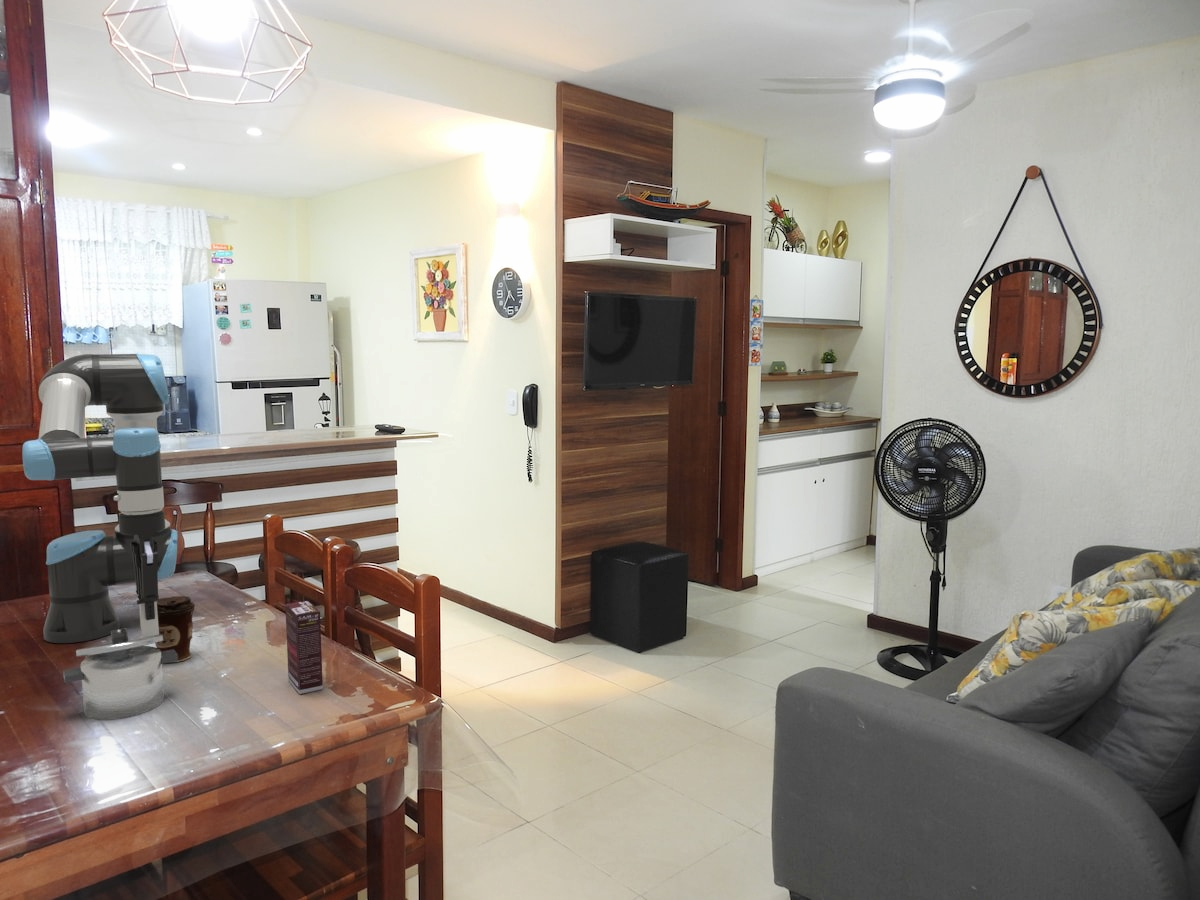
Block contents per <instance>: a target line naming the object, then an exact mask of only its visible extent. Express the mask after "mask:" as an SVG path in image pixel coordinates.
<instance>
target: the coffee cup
mask: <svg viewBox="0 0 1200 900" xmlns="http://www.w3.org/2000/svg"><path fill="white" fill-rule="evenodd" d="M191 600H192V599H191V597H189V596H185V595H181V596H179V595H178V596H171V597H161V598H158V600H157V613H158V627H159V635H163V641H161V642H157V643H154V644H155V648H158V649H159V650H160V651H166V650H172V649H174V650H175V651H176V653H177V654H178V661H173V662H172V663H179V662H184V661H187V660H189V659H190V658H192V653H191V652H190V646H191V641H192V638H193V628H194V627H193V626H194V623H193V614H194V610H195V604H194V603H193V602H192V601H191ZM169 663H171V662H168V663H167V664H169Z"/></svg>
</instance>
